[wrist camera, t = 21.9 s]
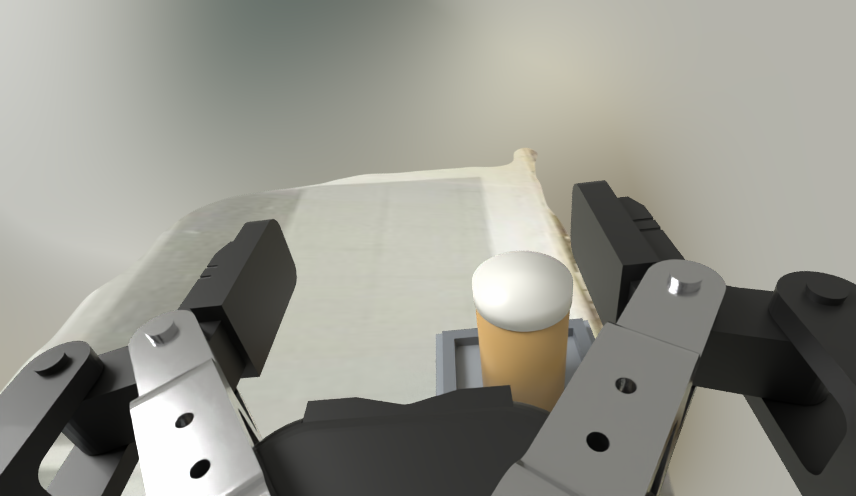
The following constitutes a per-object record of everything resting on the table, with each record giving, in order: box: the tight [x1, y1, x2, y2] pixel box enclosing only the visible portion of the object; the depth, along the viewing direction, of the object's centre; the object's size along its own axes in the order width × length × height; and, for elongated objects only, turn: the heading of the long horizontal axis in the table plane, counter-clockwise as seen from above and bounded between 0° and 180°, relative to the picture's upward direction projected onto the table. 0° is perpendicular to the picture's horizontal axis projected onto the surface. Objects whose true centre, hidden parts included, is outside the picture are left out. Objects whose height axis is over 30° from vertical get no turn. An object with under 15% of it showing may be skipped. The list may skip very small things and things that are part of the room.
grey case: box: [436, 318, 595, 396], centre depth 37 cm, size 13×13×8 cm
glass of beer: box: [472, 251, 573, 412], centre depth 32 cm, size 6×6×11 cm
